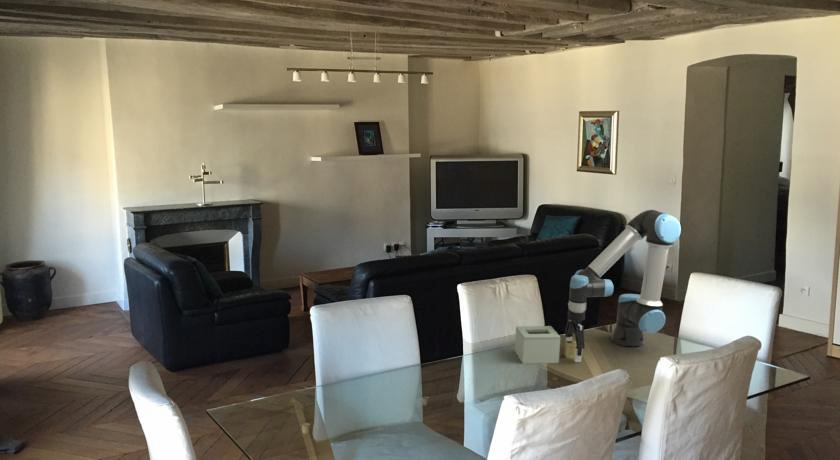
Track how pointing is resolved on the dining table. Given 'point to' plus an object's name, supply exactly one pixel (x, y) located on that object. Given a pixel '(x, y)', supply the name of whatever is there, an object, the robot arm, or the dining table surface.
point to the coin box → (537, 344)
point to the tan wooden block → (570, 349)
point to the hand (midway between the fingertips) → (572, 356)
